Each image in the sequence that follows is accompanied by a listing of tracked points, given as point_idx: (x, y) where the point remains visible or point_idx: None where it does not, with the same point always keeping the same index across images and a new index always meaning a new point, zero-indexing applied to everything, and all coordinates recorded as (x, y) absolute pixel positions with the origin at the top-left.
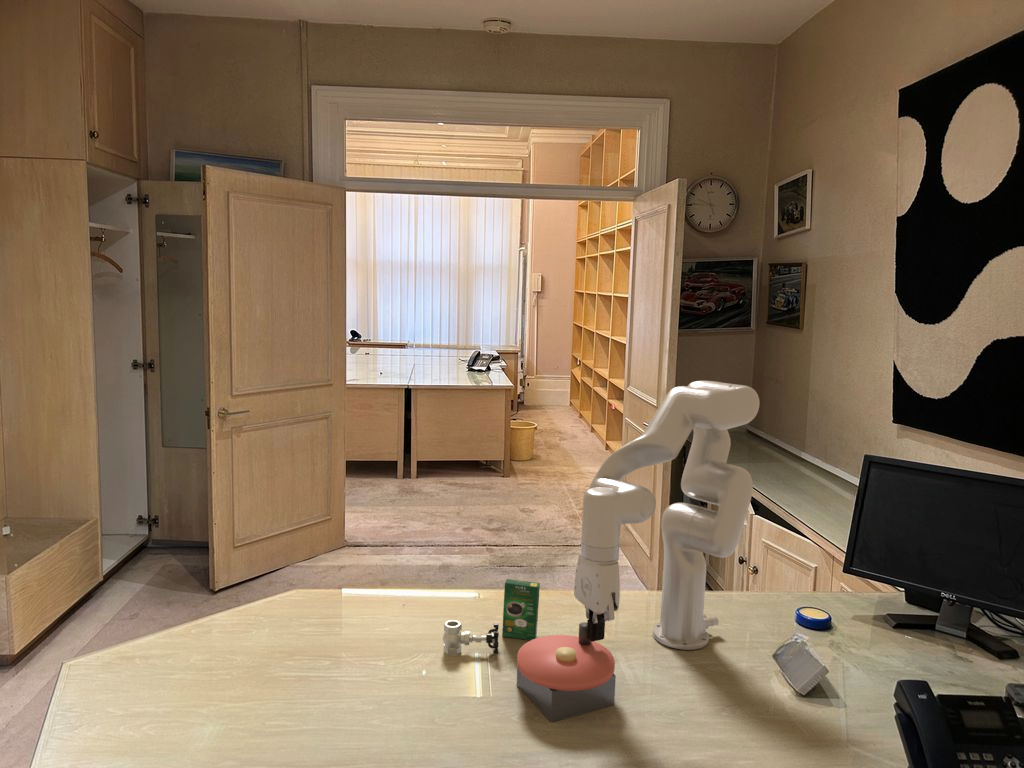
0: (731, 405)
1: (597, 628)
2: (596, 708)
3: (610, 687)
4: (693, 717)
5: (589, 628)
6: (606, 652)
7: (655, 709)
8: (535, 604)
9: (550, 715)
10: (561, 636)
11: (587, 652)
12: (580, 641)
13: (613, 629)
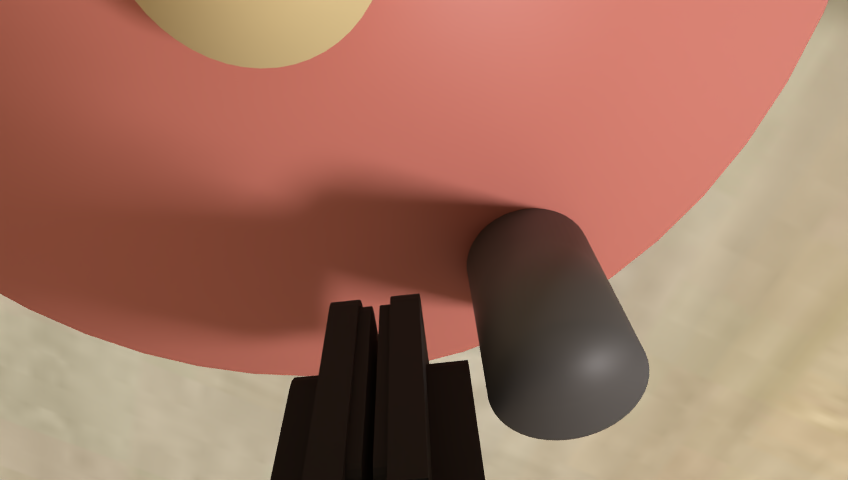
0: None
1: (274, 476)
2: None
3: None
4: (14, 440)
5: (377, 395)
6: (289, 348)
7: (87, 338)
8: None
9: None
10: (742, 94)
11: (328, 205)
12: (516, 224)
13: (839, 463)
